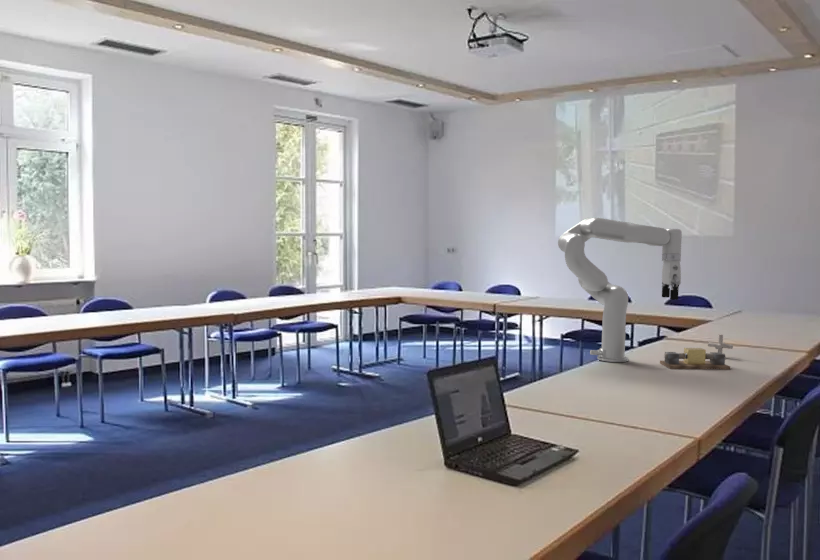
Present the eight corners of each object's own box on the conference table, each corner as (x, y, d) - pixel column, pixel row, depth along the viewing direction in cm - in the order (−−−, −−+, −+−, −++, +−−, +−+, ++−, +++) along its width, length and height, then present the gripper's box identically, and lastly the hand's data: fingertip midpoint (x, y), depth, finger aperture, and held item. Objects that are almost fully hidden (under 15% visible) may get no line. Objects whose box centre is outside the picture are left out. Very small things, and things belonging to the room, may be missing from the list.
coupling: (700, 362, 304) (701, 347, 303) (705, 364, 299) (705, 349, 299) (683, 362, 304) (684, 347, 303) (687, 364, 299) (688, 349, 299)
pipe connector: (728, 359, 318) (729, 336, 317) (704, 357, 324) (705, 334, 323) (734, 356, 326) (735, 334, 325) (711, 354, 332) (712, 332, 331)
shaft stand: (670, 368, 295) (670, 355, 295) (659, 363, 307) (660, 350, 307) (730, 369, 296) (730, 356, 295) (717, 363, 308) (717, 351, 307)
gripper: (688, 258, 305) (686, 300, 306) (672, 257, 322) (671, 296, 323) (669, 258, 305) (668, 300, 306) (655, 257, 322) (653, 296, 323)
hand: (669, 298), depth 315 cm, fingers open, 9 cm apart
